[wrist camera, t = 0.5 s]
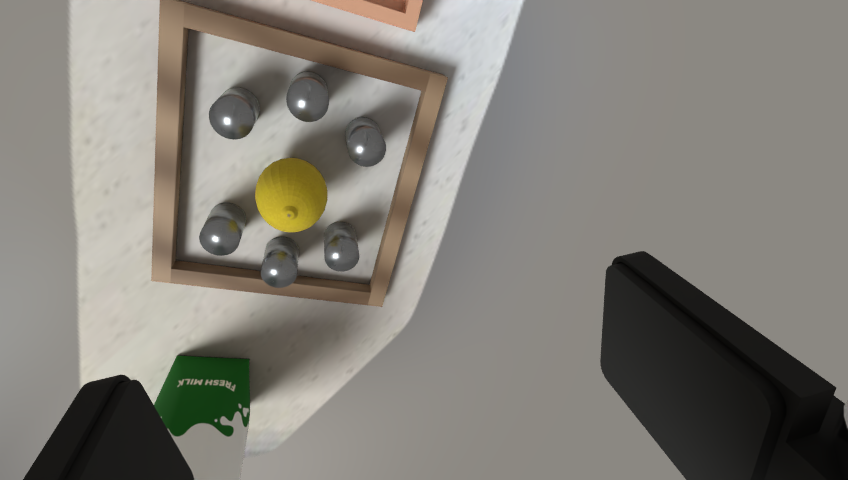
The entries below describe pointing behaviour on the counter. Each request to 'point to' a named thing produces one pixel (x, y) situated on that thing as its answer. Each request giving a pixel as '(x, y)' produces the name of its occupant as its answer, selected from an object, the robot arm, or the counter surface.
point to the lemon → (291, 195)
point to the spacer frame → (170, 134)
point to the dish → (382, 10)
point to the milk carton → (208, 413)
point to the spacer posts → (228, 220)
